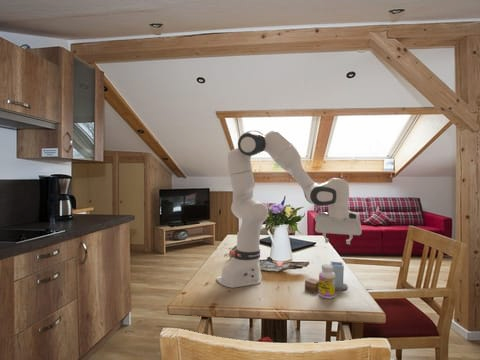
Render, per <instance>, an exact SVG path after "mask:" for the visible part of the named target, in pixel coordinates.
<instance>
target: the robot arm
mask: <svg viewBox="0 0 480 360" xmlns="http://www.w3.org/2000/svg"><path fill="white" fill-rule="evenodd" d="M262 152H266V153H267V154H268V155H269V156H270V157H271V158H272V159H273V161H274V162H275V163H276V164H277V165H278V166H279V167H280V168H281V169H282V170H284V171H285V172H286V173H288V174H289V175H290V176H291V177H292V178H293V179H294V180H295V181H296V182H297V184H298V186H300V188H301V189H302V191H303V195H304V199H305V200H306V201H307V202H308V203H309V204H312V205H314V206H317V207H325V206H327V207H328V212H317V213H316V214H315V215H314V221H315V228H314V229H315V232H316V233H320V234H321V233H322V236H323V238H324V239H325V240H324V243H325V244H328V243H329V238H327V234H334V235H335V234H336V235H346V236H347V235H349V238H348V239H345V241H346V245H349V246H350V245H351V241H352V239H353V238H354V237H353V236H360V235H362V223H361V221H360V219H359V218H360V215H359V213H358V212H355V211H353V210H350V209H349V207H350V206H349V200H350V186H349V183H348V180H346V179H343V178H338V177H331V178H330V179H328V180H326V181H325V182H323V183H317V182H315V181H314V180H313V179H312V178H311V177H310V175H309V174H308V173H307V172H306V170H305V169H304V168H303V166H302V162H301V161H302V160H301V158H302V157H301V155H300V153H299V150H297V148H296V146H294V144H293V143H292V142H291V141H290V140H289V139H288V138H287V137H286V135H284V134H283V133H282V132H280V131H279V130H276V129H274V130H273V129H272V130H270V131H268V132H266V134H263V133H262V132H261V131H258V130H248V131H246V132H244V133H242V134H241V135H240V136H239V138H238V140H237V148H233V149H232V150H230V151H229V152H228V153H227V167H228V173H229V178H230V183H231V187H232V203H231V207H230V210H231V212H232V214H233V215H234V216H235V217H236V218H237V219H240V220H241V225H240V228H239V230H238V231H237V233H236V249H235V250H231V249H230V250H229V254H230V255H231V256H233V257H232V258H231V259H230V260H229V261H228V262H226V264H225V265H223V267H222V270H221V275H219V276H217V277H216V282H218V283H219V284H220V285H222V286H224V287H226V288H239V287H240V288H241V287H247V286H254V285H259V284H261V282H262V281H261V280H262V279H263V276H262V271H261V263H260V262H261V261H260V258H261V249H260V235H261V231H262V227H263V225H264V222H265V221H266V220H267V219H268V216H269V209H268V207H267V205H266V204H264V202H261V200H257V199H254V194H253V193H254V188H255V186H256V182H255V177H254V173H253V169H252V164H251V158H252V156H255V155H257V154H260V153H262Z"/></svg>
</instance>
